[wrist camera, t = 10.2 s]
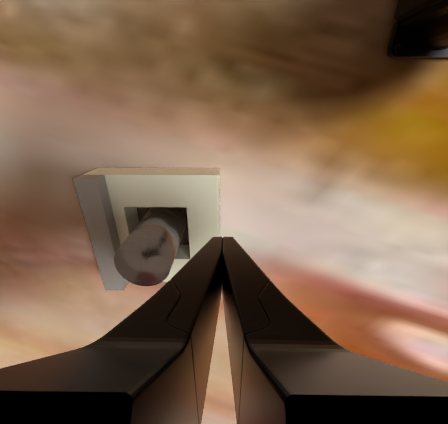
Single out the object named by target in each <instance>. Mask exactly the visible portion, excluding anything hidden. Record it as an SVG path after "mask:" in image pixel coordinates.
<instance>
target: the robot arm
mask: <svg viewBox="0 0 448 424" xmlns="http://www.w3.org/2000/svg"><path fill="white" fill-rule="evenodd" d="M394 19H395V23H394V27H393V31H392V35H391V39H390V43H389V46H388V51H387V53H388V56H389V57H391V58H448V0H399V1H398V5H397V9H396V13H395V17H394ZM396 45H397V46H398V51H397V52H395V47H396ZM221 292H222V293H223V303H224V312H225V321H226V330H227V339H228V348H229V357H230V366H231V374H232V383H233V392H234V401H235V410H236V419H237V424H448V382H447V381H443V380H440V379H436V378H433V377H430V376H427V375H424V374H420V373H417V372H414V371H411V370H408V369H404V368H401V367H398V366H395V365H391V364H388V363H385V362H382V361H379V360H375V359H372V358H369V357H366V356H363V355H359V354H356V353H354V352H351V351H349V350H347V349H345V348H344V347H342V346H340V345H339V344H337V343H336V342H335V341H333V340H332V339H331V338H330V337H329V336H328V335H326V334H325V333H324V332H323V331H322V330H321V329H320V328H319V327H318V326H317V325H315V324H314V323H313V322H312V321H311V320H310V319H309V318H308V317H307V316H305V315H304V314H303V313H302V312H301V311H300V310H299V309H298V308H297V307H296V306H295V305H294V304H292V303H291V302H290V301H289V300H288V299H287V298H286V297H285V296H284V295H283V294H282V292H281V291H280V290H279V289H278V288H277V287H276V286H275V285H274V284H273V283H272V281H270V279H269V278H268V277H267V276H266V275H265V273H264V272H263V271H262V270H261V269H260V268H259V267H258V265H257V264H256V263H255V262H254V261H253V260H252V259H251V257H250V256H249V255H248V254H247V253H246V252H245V251H244V249H243V248H242V247H241V246H240V245H239V244H238V243H237V241H236V240H235V239H234V238H233V237H223V238H222V237H212V238H211V239H210V240H209V241H208V242H207V243H206V244H205V245H204V246H203V247H202V248H201V249H200V250H199V251H198V252H197V253H196V254H195V255H194V256H193V257H192V258H191V259H190V260H189V261H188V262H187V263H186V264H185V265H184V266H183V267H182V268H181V269H180V270H179V271H178V272H177V273H176V274H175V275H174V276H173V277H172V278H171V280H169V281H168V282H167V283H166V284H165V285H164V286H163V287H162V288H161V289H160V290H159V291H158V292H157V293H156V294H154V295H153V296H152V297H151V298H150V299H149V300H147V301H146V302H145V303H144V304H143V305H142V306H140V307H139V308H138V309H137V310H135V311H134V312H133V313H132V314H130V315H129V316H128V317H127V318H125V319H124V320H123V321H122V322H120V323H119V324H118V325H117V326H116V327H114V328H113V329H112V330H111V331H109V332H108V333H107V334H105V335H104V336H103V337H101V338H100V339H98V340H97V341H95V342H93V343H91V344H89V345H87V346H85V347H82V348H79V349H76V350H72V351H68V352H64V353H60V354H56V355H52V356H48V357H44V358H40V359H37V360H33V361H29V362H25V363H21V364H17V365H13V366H9V367H5V368H1V369H0V424H201V420H202V414H203V408H204V401H205V395H206V388H207V382H208V376H209V369H210V363H211V357H212V350H213V344H214V337H215V331H216V325H217V318H218V312H219V306H220V299H221Z"/></svg>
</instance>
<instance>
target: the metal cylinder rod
mask: <svg viewBox="0 0 448 424" xmlns="http://www.w3.org/2000/svg"><path fill="white" fill-rule="evenodd" d="M185 227H186V217H185V214H184V212H183V211H182V210H181V209H180V208H179V207H151V208H150V209H149V210H148V212H147V213H146V214H145V215H144V217H143V218H142V219H141V220H140V222H139V223H138V224H137V226H136V227H135V228H134V229H133V231H132V232H131V233H130V234H129V236H128V237H127V238H126V239H125V241H124V242H123V243H122V244H121V246H120V247H119V248H118V249H117V251H116V253H115V255H114V264H115V267H116V269H117V271H118V273H119V274H120V275H121V276H122V277H123V278H124V279H126V280H127V281H129V282H131V283H133V284H136V285H140V286H153V285H157V284H159V283H161V282H163V281H164V280H165V279H166V278H167V276H168V275H169V273H170V270H171V267H172V264H173V261H174V258H175V256H176V253H177V250H178V247H179V244H180V241H181V239H182V236H183V233H184V230H185Z"/></svg>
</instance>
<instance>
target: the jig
mask: <svg viewBox="0 0 448 424" xmlns="http://www.w3.org/2000/svg"><path fill="white" fill-rule="evenodd" d="M73 183H74V186H75V189H76V193H77V196H78V199H79V203H80V206H81V210H82V213H83V216H84V220H85V223H86V227H87V230H88V233H89V237H90V240H91V244H92V247H93V250H94V254H95V257H96V260H97V264H98V267H99V271H100V274H101V277H102V281H103V284H104V288H105V290H124V289H125V288H126V286H127V284H128V282H129V281H127V280H126V279H124V278H123V277H122V276H121V275H120V274H119V273H118V271H117V269H116V267H115V264H114V255H115V253H116V251H117V249H118V248H119V247H120V246H121V244H122V243H123V242H124V241H125V239H126V238H127V237H128V236H129V234H130V233H131V232H132V231H133V229H134V228H135V227H136V226H137V224H138V223H139V218H138V213H137V207H187V220H188V233H189V245H179V247H178V250H177V253H176V256H175V258H174V261H173V264H172V267H171V270H170V273H169V275H168V276H167V278H166V279H165V280H164V281H163V282H168V281H169V280H171V278H172V277H173V276H174V275H175V274H176V273H177V272H178V271H179V270H180V269H181V268H182V267H183V266H184V265H185V264H186V263H187V262H188V261H189V260H190V259H191V258H192V257H193V256H194V255H195V254H196V253H197V252H198V251H199V250H200V249H201V248H202V247H203V246H204V245H205V244H206V243H207V242H208V241H209V240H210V239H211V238H212V237H220V168H97V169H94V170H92V171H90V172H87V173H85V174H83V175H80V176H78V177H75V178H73Z"/></svg>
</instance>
